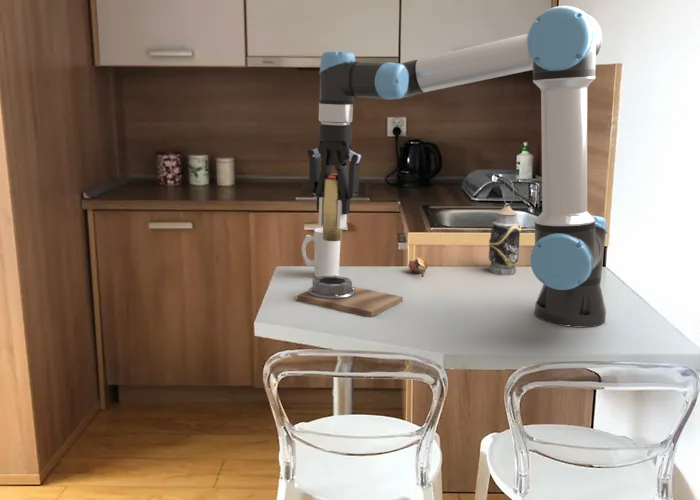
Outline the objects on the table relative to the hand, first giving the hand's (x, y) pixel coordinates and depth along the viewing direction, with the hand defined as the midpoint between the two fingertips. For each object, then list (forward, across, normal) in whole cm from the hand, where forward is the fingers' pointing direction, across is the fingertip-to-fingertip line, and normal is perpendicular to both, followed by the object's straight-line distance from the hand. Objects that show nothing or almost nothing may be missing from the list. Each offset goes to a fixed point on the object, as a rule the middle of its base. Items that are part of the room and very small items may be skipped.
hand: (332, 226), depth 176 cm
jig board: (+17, -5, 0) cm, 18 cm away
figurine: (+17, -6, -32) cm, 37 cm away
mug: (+17, +13, -14) cm, 26 cm away
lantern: (+17, -23, -48) cm, 56 cm away
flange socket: (+16, 0, 0) cm, 16 cm away
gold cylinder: (+3, 0, 0) cm, 3 cm away
